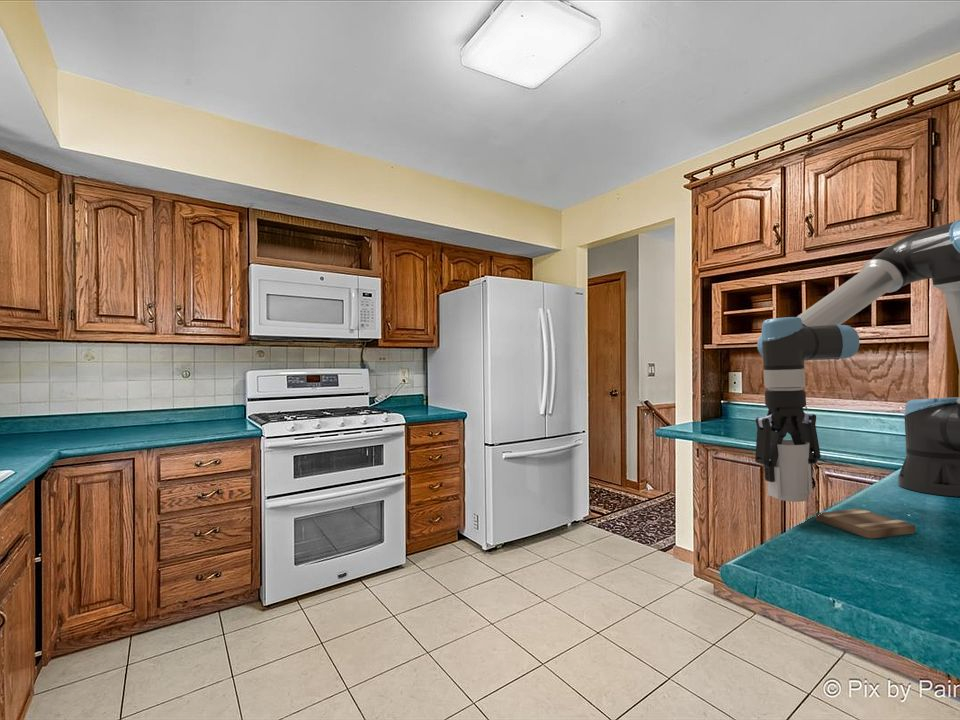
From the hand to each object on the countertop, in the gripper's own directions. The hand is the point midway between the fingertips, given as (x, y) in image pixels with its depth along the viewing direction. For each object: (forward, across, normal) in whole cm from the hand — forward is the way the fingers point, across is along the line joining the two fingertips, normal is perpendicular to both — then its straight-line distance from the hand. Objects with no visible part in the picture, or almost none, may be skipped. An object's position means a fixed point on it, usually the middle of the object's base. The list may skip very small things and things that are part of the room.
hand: (789, 494), depth 104 cm
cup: (+1, 0, 0) cm, 1 cm away
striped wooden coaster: (+5, -7, +10) cm, 13 cm away
